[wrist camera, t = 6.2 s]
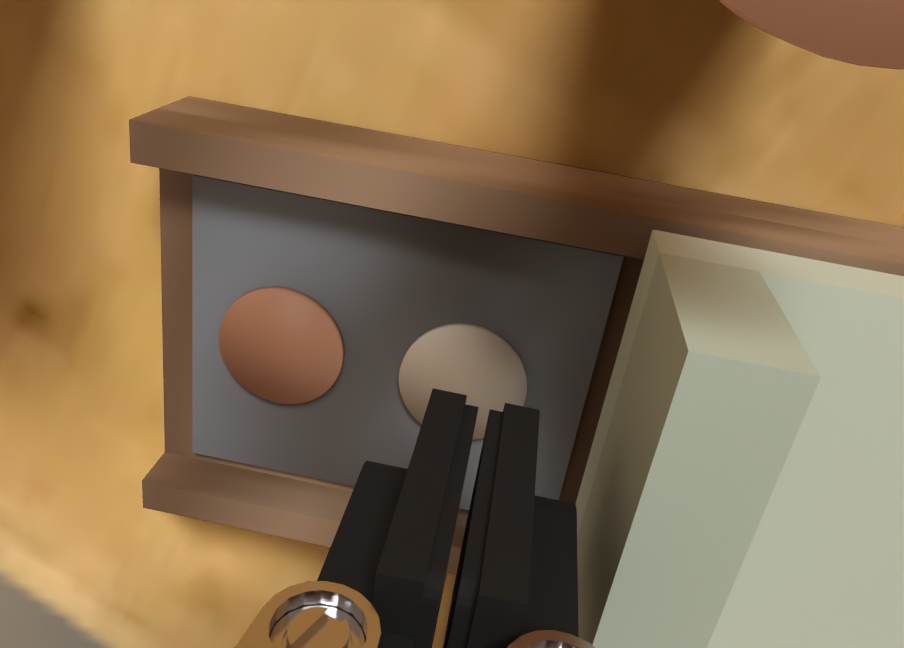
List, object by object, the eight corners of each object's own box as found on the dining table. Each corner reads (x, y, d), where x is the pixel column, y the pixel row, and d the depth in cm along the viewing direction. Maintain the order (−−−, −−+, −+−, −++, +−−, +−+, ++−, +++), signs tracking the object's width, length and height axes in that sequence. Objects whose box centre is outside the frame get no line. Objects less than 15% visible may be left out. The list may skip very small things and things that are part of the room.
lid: (1195, 330, 11) (1479, 505, 8) (962, 689, 15) (1084, 922, 11) (652, 229, 12) (688, 350, 8) (548, 601, 15) (541, 799, 12)
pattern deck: (1129, 268, 14) (1223, 323, 12) (934, 601, 17) (981, 686, 15) (188, 96, 15) (128, 120, 13) (189, 446, 18) (143, 507, 16)
